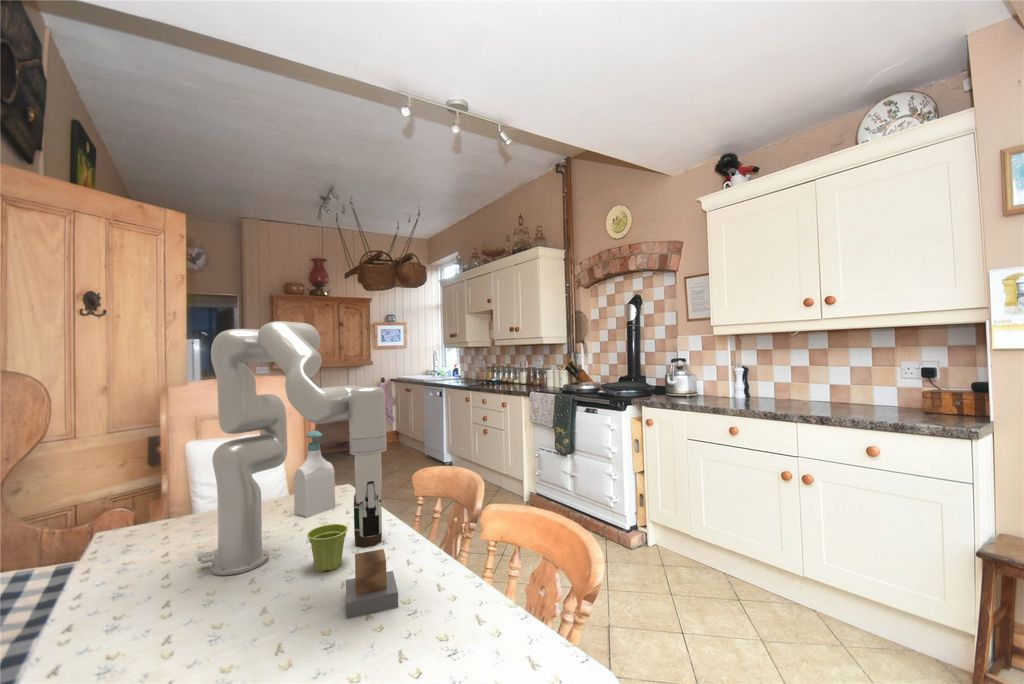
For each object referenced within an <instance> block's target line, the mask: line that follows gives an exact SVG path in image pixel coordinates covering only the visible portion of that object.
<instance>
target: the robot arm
mask: <svg viewBox="0 0 1024 684" xmlns="http://www.w3.org/2000/svg"><path fill="white" fill-rule="evenodd" d="M319 333H320V332H318V330H317V328H315V327H314V326H313V325H311V324H309V323H307V322H305V323H304V322H298V321H297V322H296V321H283V320H282V321H281V320H279V321H271V322H268V323H264V324H263V325H262V326H261V327H260V328H259V329H258V328H257V329H255V328H232V329H227V330H226V329H225V330H223V331H221V332H219V333H218V334H217V335H216V336H215V337H214V340H213V342H212V344H211V346H210V347H211V349H210V360H211V364H212V367H213V371H214V374H215V378H216V385H217V388H216V389H217V413H218V414H217V416H218V425H219V427H220V429H221V431H222V432H223V433H225V434H228V435H236V434H237V435H238V434H244V433H251V432H257V431H259V435H255V436H254V435H253V436H247V437H241V438H236V439H232V440H228V441H226V442H224V443H221V444H220V445H218V446H217V447H216V449H215V450H214V451H213V453H212V461H211V462H212V466H213V467H212V468H213V472H214V475H215V482H216V489H217V490H216V492H217V549H216V548H215V549H214V550H213V551H205V552H201V553H200V552H199V553H198V554H197V555H198V556H197V562H198V563H199V562H200V564H201V565H202V564H208V563H212V564H211V565H210V572H211V573H212V574H214V575H217V576H231V575H232V576H234V575H237V574H241V573H245V572H249V571H251V570H255V569H257V568H258V567H260V566H262V565H264V564H265V563H266V562H267V561H268V560H269V558H270V555H269V551H268V550H266V549H263V544H262V543H263V536H262V533H263V531H262V530H263V529H262V527H263V526H262V521H263V520H262V519H263V518H262V490H261V487H260V485H259V484H258V483H257V481H256V480H255V479H254V477H253V474H254V475H255V474H258V473H260V472H261V473H262V472H265V471H268V470H272V469H275V468H278V467H280V466H281V465H282V464H284V462H285V461H286V458H287V456H288V427H287V425H288V424H287V411H286V410H287V409H286V406H285V404H284V402H283V400H282V399H281V398H280V397H279V396H278V395H276V394H273V393H271V394H270V393H262V394H257V380H256V376H255V375H254V373H253V372H252V369H250V368H249V366H247V365H246V364H245V363H267V362H268V363H269V362H270V363H273V362H274V363H275V364H276V365H277V366H278V368H279V369H280V370H281V371H283V373H284V374H285V375H286V377H285V381H284V382H285V385H284V387H285V393H286V396H287V397H286V398H287V399H288V401H289V403H290V405H291V406H292V407H293V408H294V409H295V410H296V412H298V413H299V415H300V416H301V417H303V418H304V419H305V420H306V421H308V422H309V423H313V424H314V425H315V424H316V425H317V424H318V425H319V424H321V425H322V424H328V423H333V422H338V421H346V420H348V430H349V433H348V434H349V455H353V456H354V487H355V488H354V491H355V493H354V495H356V503H358V504H360V502H363V504H364V517H363V536H364V537H368V536H374V535H378V534H379V514H378V504H377V502H378V501H379V500H380V499H381V500H382V473H383V472H382V453H384V452H386V451H387V450H388V449H387V448H388V445H387V422H386V421H387V417H386V414H387V413H386V392H385V390H384V388H383V387H381V386H358V385H342V386H341V385H340V386H339V385H338V386H337V385H336V386H326V387H319V386H317V385H316V384H315V383H314V382H313V381H312V380H311V378H312V377H314V376H315V374H317V373H318V371H319V370H320V368H321V365H322V362H323V359H322V355H321V354H320V352H319V351H318V349H320V345H321V337H320V334H319ZM377 500H378V501H377ZM367 504H368V506H367V508H366V505H367Z"/></svg>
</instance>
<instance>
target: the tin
mask: <svg viewBox="0 0 1024 684" xmlns="http://www.w3.org/2000/svg"><path fill="white" fill-rule="evenodd" d="M377 504H378V514H379V534H380V533H381V514H382V502H381V503H380V502H379V501H378V502H377ZM367 506H368V504H367V505H366V508H367ZM363 517H364V504H363V503H362V504H360V505H359V525H360V536H362V537H364V536H363ZM374 536H376V535H374ZM368 537H372V536H368Z"/></svg>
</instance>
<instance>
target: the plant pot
mask: <svg viewBox="0 0 1024 684" xmlns="http://www.w3.org/2000/svg"><path fill="white" fill-rule="evenodd" d="M348 531H349V528H348V526H347V525H345V524H343V523H342V524H341V523H331V524H330V523H329V524H325V525H321V526H317V527H314V528H312V529H311V530H309V531H308V533H307V534H306V537H307V538H308V540H309V543H310V546H311V553H312V557H313V558H312V559H313V560H312V561H313V565H314V570H315V571H317V572H325V571H333V570H335V569H337V568H338V569H339V567H340V566H341V564H342V561H343V551H344V543H345V538H346V536H347V535H346V534H347V532H348Z"/></svg>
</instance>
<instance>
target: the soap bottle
mask: <svg viewBox="0 0 1024 684" xmlns="http://www.w3.org/2000/svg"><path fill="white" fill-rule="evenodd" d="M324 437H325V434H323V433H322V432H320V431H318V430H311V431H309V432H308V433H307V434H306V435H305V438H308V439H309V438H311V442H309V443H308V445H307V457H306V459H305V460H304V462H303V463H302V465H301V466H300V467H299V468H297V469H296V470H295V472H294V474H293V475H294V476H293V494H294V497H293V501H294V506H293V507H294V509H293V510H294V514H295V515H298V516H301V517H305V518H309V517H313V516H315V515H317V514H321V513H324V512H327V511H329V510H333V509H335V507H336V491H335V490H336V489H335V488H336V486H335V485H336V483H335V482H336V481H335V480H336V479H335V478H336V477H335V468H334V466H333V464H332V462H329V461H327V460H326V459H325V458H324V457H323V456H322V451H321V443H320V442H318V441H317V438H320V439H321V438H324ZM332 508H333V509H332Z"/></svg>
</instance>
